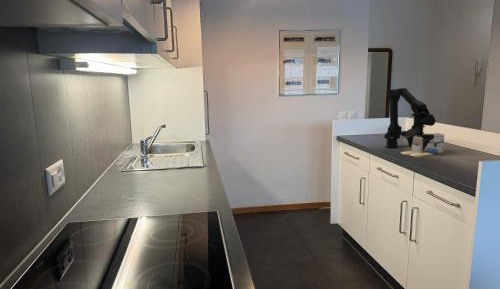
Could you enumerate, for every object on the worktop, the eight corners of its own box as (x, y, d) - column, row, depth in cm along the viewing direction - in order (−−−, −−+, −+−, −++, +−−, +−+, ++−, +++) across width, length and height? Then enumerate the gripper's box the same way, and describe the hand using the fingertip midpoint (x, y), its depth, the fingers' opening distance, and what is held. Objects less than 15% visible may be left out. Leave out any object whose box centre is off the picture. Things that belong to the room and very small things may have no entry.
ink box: (432, 153, 226) (433, 134, 224) (426, 151, 231) (427, 133, 228) (443, 152, 228) (445, 134, 226) (437, 150, 233) (439, 133, 231)
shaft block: (400, 153, 228) (401, 143, 227) (413, 151, 233) (414, 141, 232) (419, 157, 216) (420, 147, 214) (432, 155, 221) (433, 144, 220)
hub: (409, 152, 225) (409, 144, 225) (415, 151, 228) (416, 143, 227) (417, 154, 220) (417, 146, 219) (423, 152, 223) (424, 145, 222)
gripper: (396, 123, 225) (395, 147, 228) (423, 126, 209) (421, 152, 212) (409, 122, 230) (407, 145, 233) (435, 125, 214) (433, 150, 217)
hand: (416, 148), depth 224 cm, fingers open, 9 cm apart
